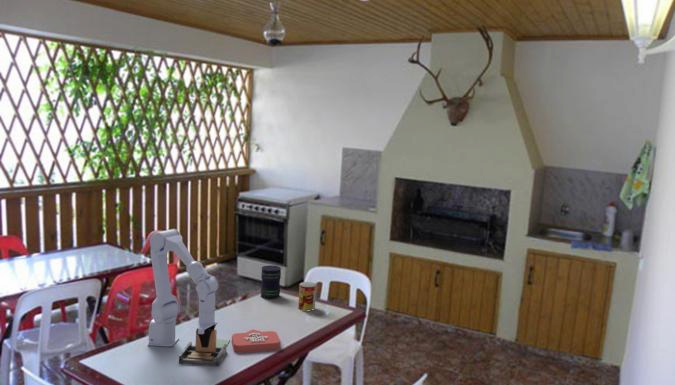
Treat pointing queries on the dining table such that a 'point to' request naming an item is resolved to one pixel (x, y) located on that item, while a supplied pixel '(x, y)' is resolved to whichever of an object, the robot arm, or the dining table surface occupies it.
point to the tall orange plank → (211, 344)
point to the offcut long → (200, 357)
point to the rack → (189, 349)
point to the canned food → (307, 296)
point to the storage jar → (270, 282)
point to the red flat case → (255, 341)
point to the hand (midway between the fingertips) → (205, 345)
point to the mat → (221, 343)
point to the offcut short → (201, 354)
